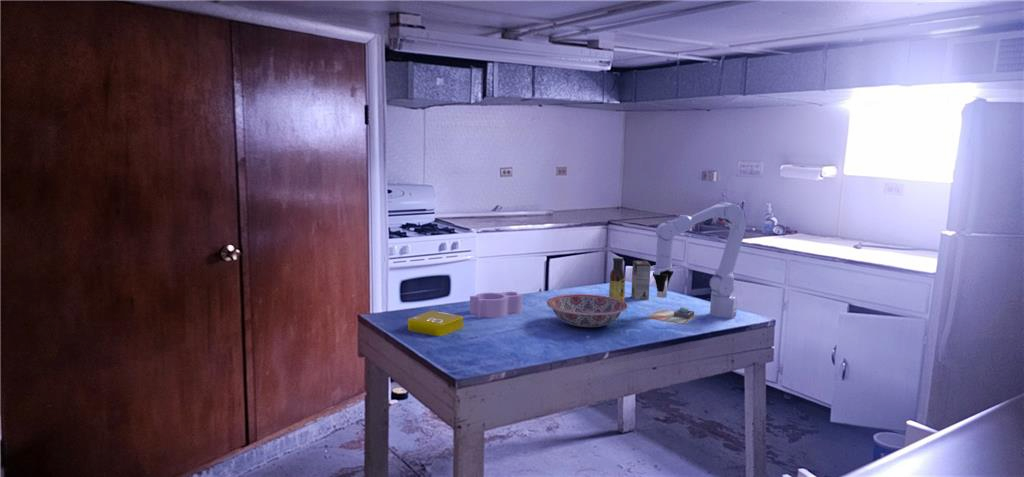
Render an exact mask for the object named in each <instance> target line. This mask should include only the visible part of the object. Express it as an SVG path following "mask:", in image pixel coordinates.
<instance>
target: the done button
mask: <svg viewBox="0 0 1024 477" xmlns="http://www.w3.org/2000/svg"><path fill="white" fill-rule="evenodd" d="M679 309H680V312H681V313H687V314H688V312H689V310H690V309H689V307H686V306H681V307H679Z"/></svg>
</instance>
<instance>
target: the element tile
mask: <svg viewBox="0 0 1024 477" xmlns="http://www.w3.org/2000/svg"><path fill="white" fill-rule="evenodd" d="M463 328H464V317H463V315H459V314H453V313H449V312H448V313H447V312H444V311H443V312H442V311H437V310H429V311H426V312H424V313H420V314H417V315H415V316H413V317H408V319H407V330H408V331H409V332H414V333H419V334H425V335H430V336H435V337H442V336H446V335H449V334H451V333H453V332H456V331H458V330H460V329H463Z"/></svg>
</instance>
